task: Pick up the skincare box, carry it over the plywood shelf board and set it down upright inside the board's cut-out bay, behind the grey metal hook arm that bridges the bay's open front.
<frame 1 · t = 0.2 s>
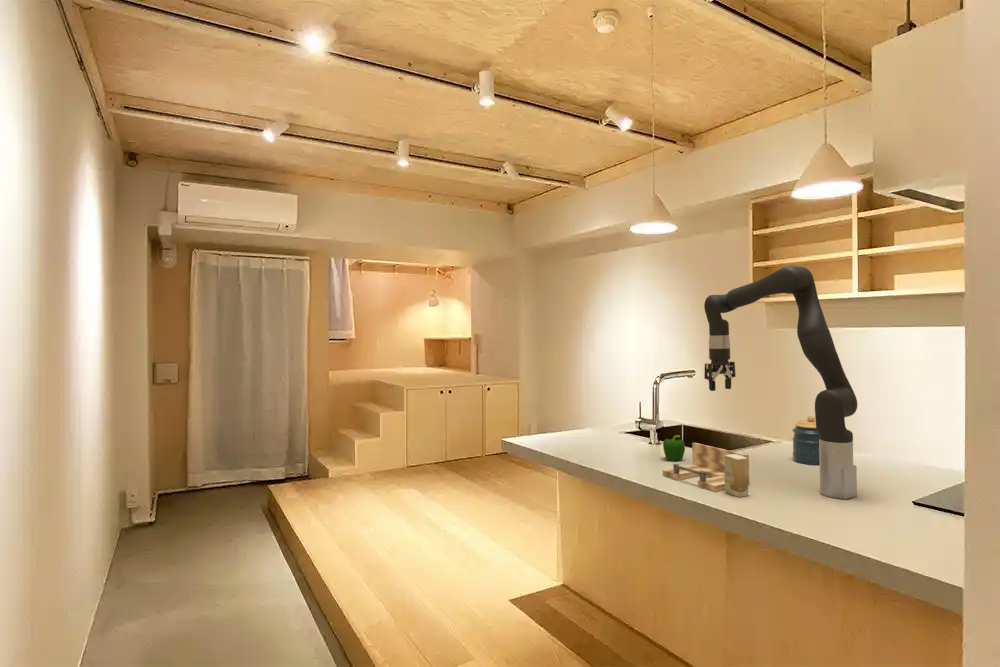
hand: (720, 389, 221), 29 cm above the countertop, fingers open, 8 cm apart
shelf: (704, 479, 203), on the countertop
skincare box: (736, 494, 186), on the countertop
bell pepper: (673, 460, 232), on the countertop
canister: (811, 461, 224), on the countertop
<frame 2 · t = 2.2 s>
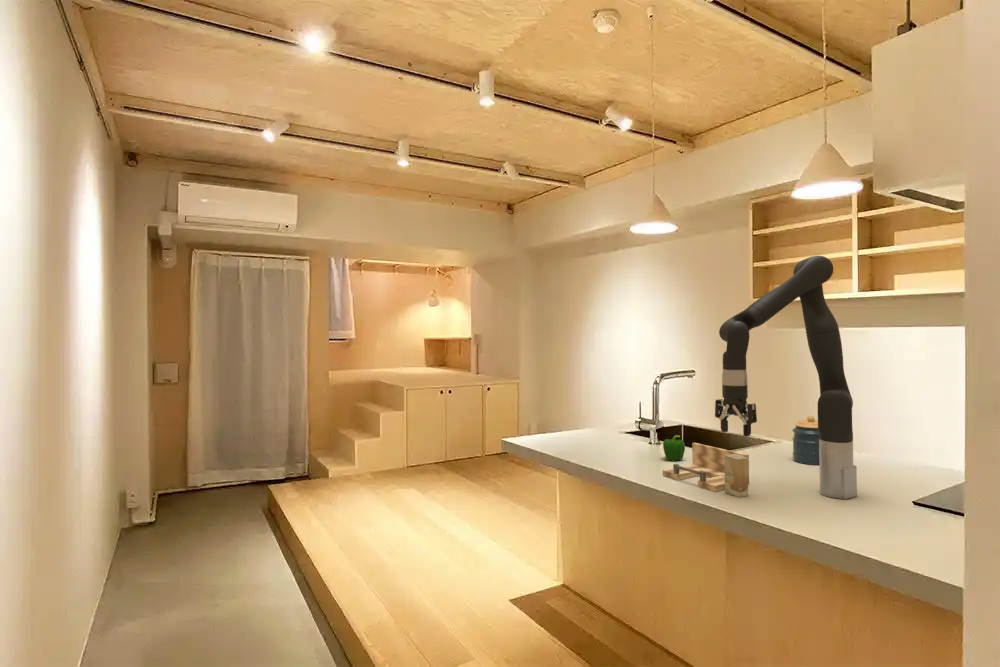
hand: (735, 433, 186), 19 cm above the countertop, fingers open, 8 cm apart
nothing on the countertop moved.
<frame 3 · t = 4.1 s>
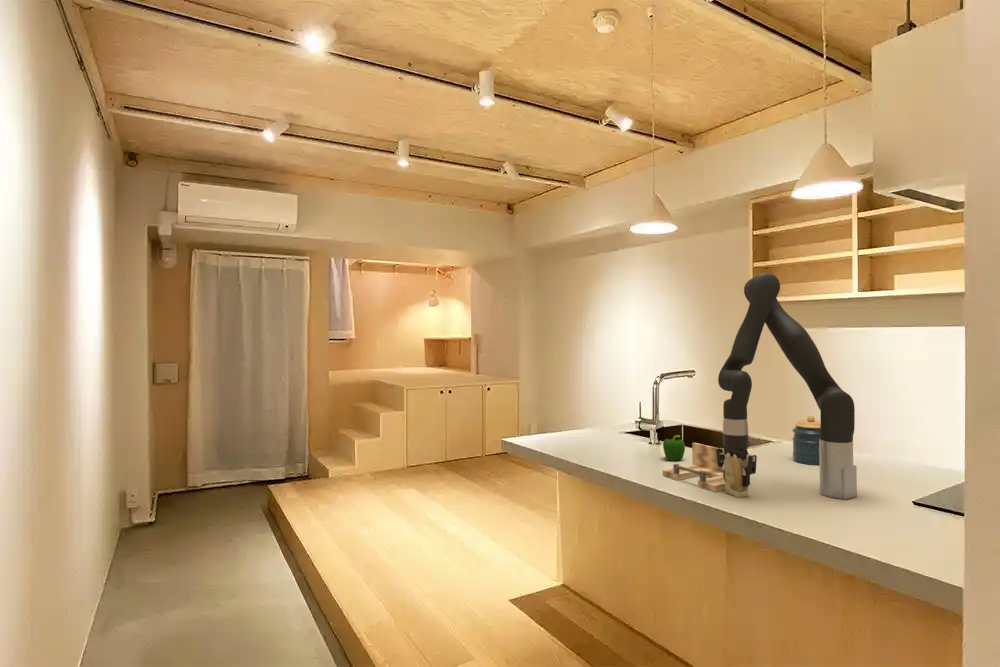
hand: (736, 483, 186), 3 cm above the countertop, fingers closed on skincare box, 6 cm apart
skincare box: (736, 494, 186), on the countertop, touching gripper
everything else where it was.
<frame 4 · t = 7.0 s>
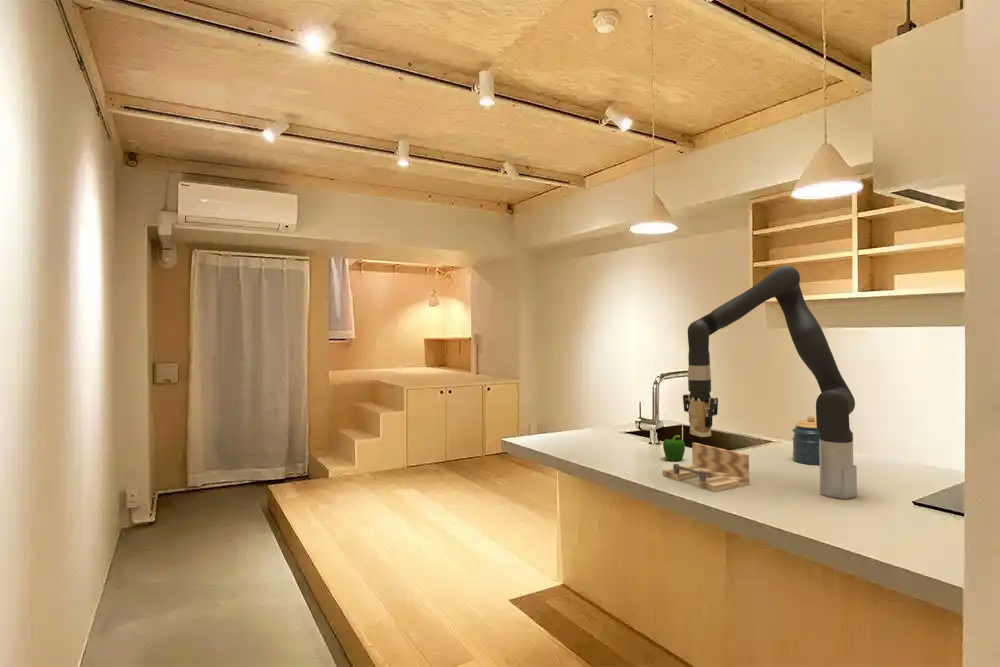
hand: (700, 425, 202), 19 cm above the countertop, fingers closed on skincare box, 6 cm apart
skincare box: (700, 435, 202), point 16 cm above the countertop, touching gripper
everything else where it was.
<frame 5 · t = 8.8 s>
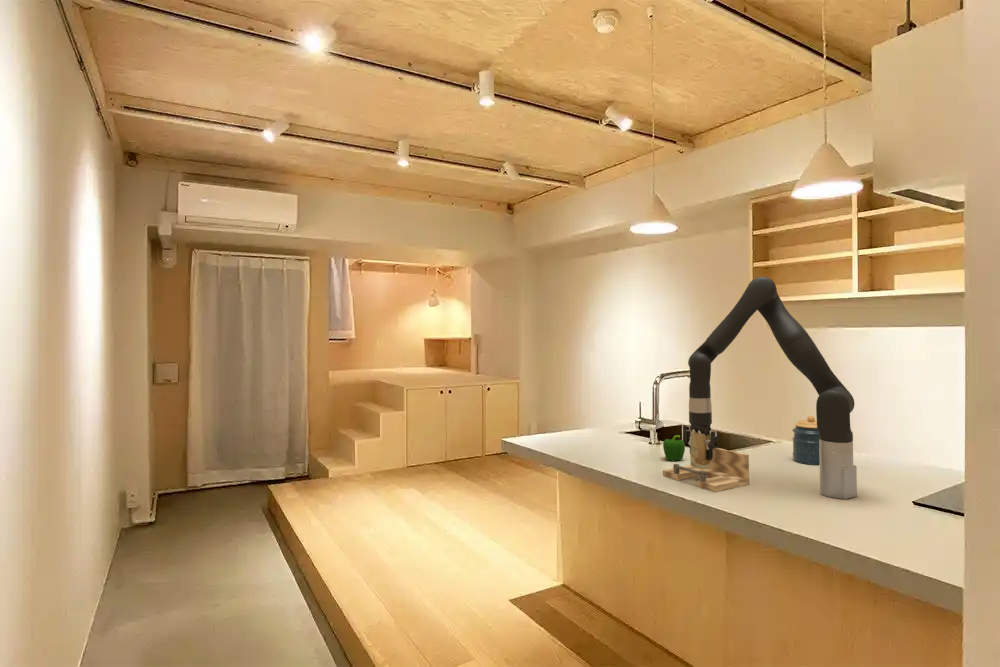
hand: (701, 457, 202), 8 cm above the countertop, fingers closed on skincare box, 6 cm apart
skincare box: (701, 467, 202), point 4 cm above the countertop, touching gripper
everything else where it was.
when the fingers open (5 cm above the countertop, at t = 10.1 s): skincare box drops 1 cm, resting in shelf.
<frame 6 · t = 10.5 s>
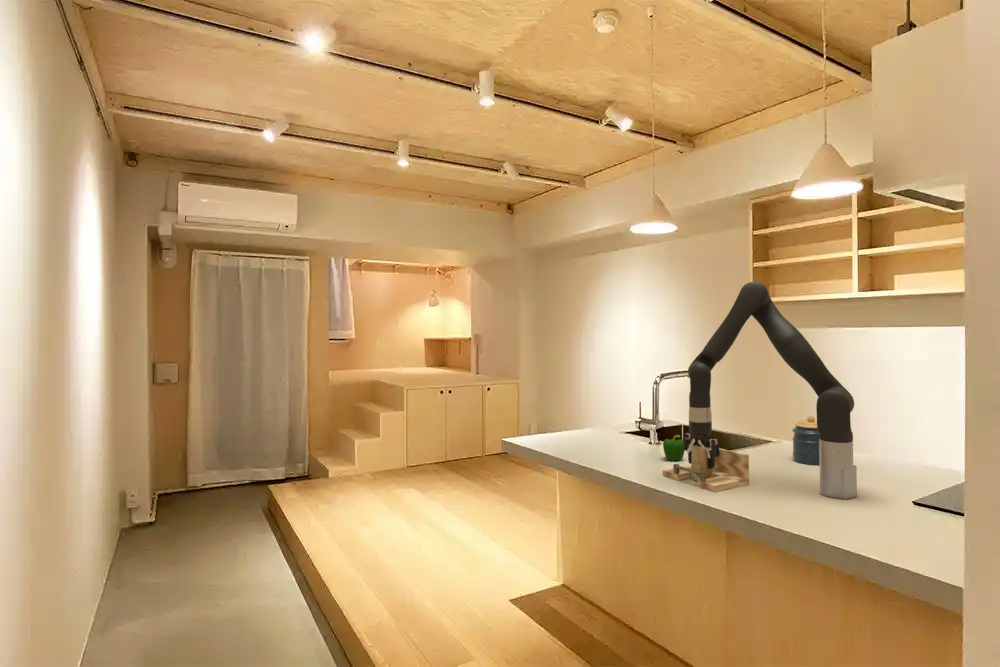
hand: (701, 465, 202), 5 cm above the countertop, fingers open, 8 cm apart
skincare box: (702, 481, 202), resting in shelf
everything else where it was.
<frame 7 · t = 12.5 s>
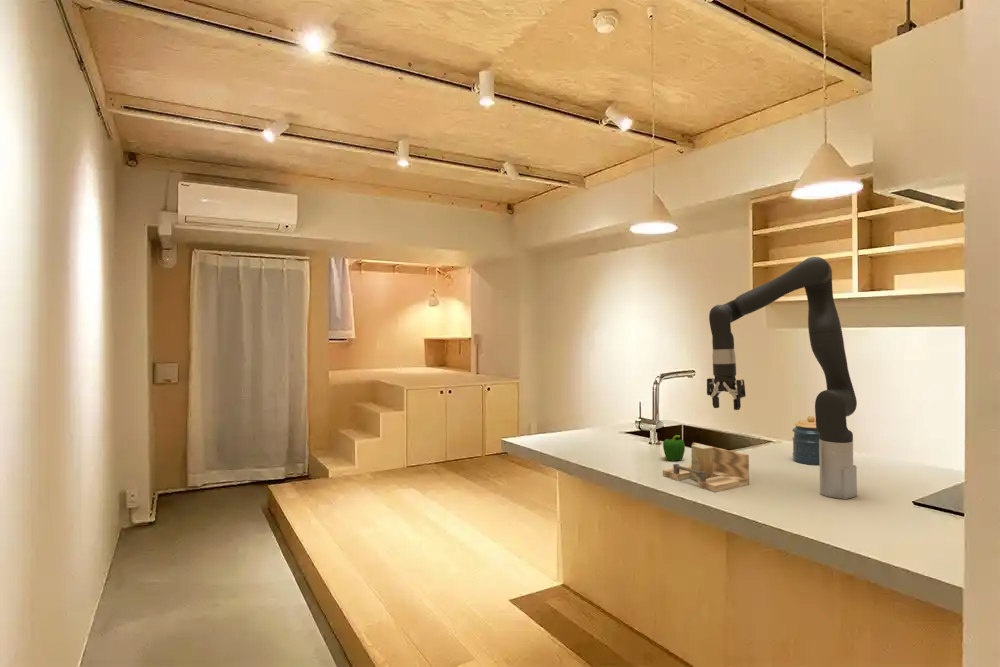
hand: (726, 408, 202), 25 cm above the countertop, fingers open, 8 cm apart
nothing on the countertop moved.
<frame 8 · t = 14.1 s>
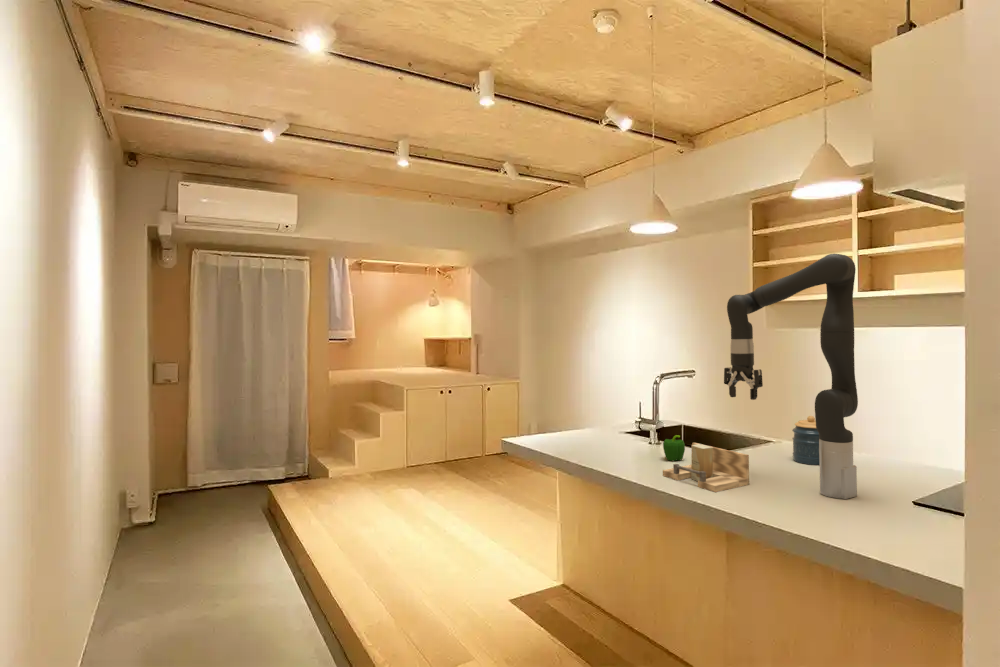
hand: (743, 398, 203), 28 cm above the countertop, fingers open, 8 cm apart
nothing on the countertop moved.
at the end: skincare box inside the target area on the shelf (0.4 cm from its centre), point 0.0 cm above the shelf's base; skincare box tilted 0°; the gripper is holding nothing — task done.
